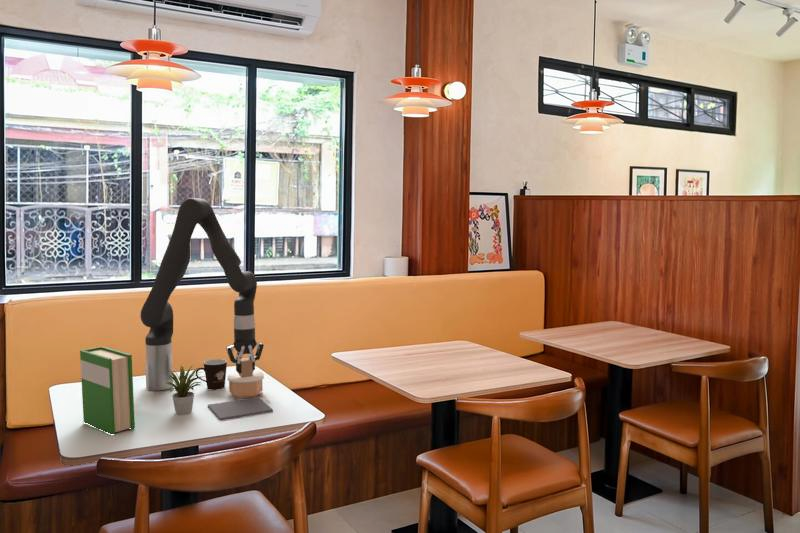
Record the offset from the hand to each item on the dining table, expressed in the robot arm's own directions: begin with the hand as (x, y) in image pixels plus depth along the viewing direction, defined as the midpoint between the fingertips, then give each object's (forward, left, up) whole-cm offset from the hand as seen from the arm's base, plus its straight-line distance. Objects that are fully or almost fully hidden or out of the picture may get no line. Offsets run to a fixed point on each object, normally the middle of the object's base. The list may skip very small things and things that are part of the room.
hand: (245, 372), depth 244 cm
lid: (0, 0, -2) cm, 2 cm away
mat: (-7, -16, -8) cm, 19 cm away
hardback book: (-48, -12, -9) cm, 50 cm away
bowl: (0, 0, -8) cm, 8 cm away
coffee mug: (-9, +14, -8) cm, 19 cm away
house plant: (-25, -11, -8) cm, 29 cm away
